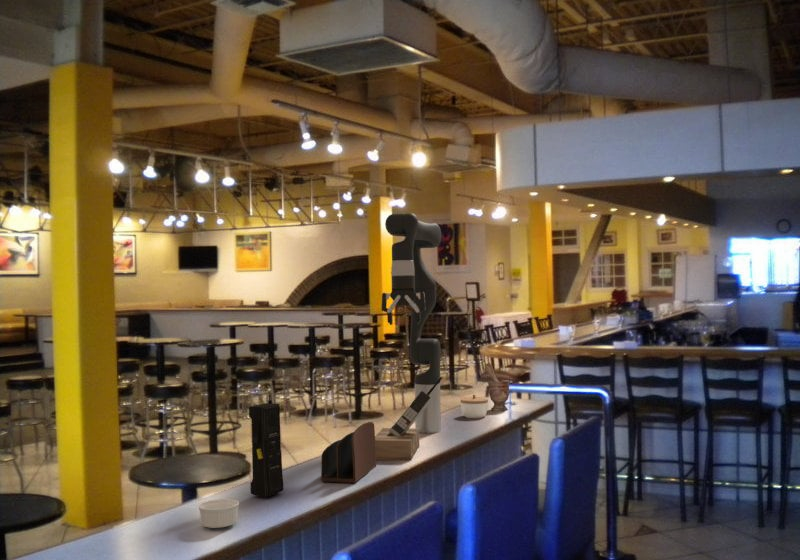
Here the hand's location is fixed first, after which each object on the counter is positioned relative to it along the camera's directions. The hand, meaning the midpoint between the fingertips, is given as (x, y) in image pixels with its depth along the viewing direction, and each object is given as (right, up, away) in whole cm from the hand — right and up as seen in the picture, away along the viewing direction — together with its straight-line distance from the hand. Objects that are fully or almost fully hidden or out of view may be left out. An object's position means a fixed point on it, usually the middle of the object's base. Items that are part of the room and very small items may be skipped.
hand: (403, 324), depth 253 cm
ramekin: (-42, -41, -78) cm, 97 cm away
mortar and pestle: (+38, -40, +68) cm, 88 cm away
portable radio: (-36, -41, -54) cm, 76 cm away
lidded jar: (+28, -40, +53) cm, 72 cm away
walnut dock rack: (-2, -40, -8) cm, 41 cm away
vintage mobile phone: (-3, -35, -8) cm, 36 cm away
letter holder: (-15, -41, -34) cm, 55 cm away
